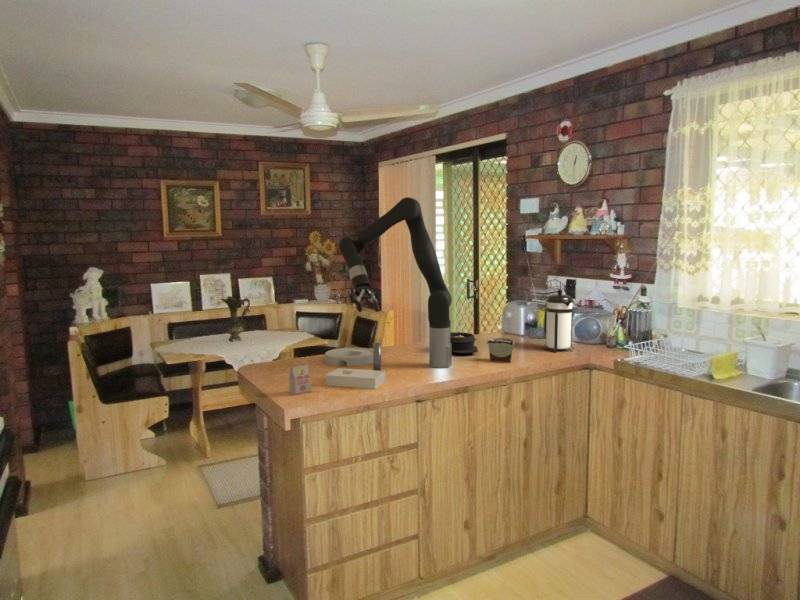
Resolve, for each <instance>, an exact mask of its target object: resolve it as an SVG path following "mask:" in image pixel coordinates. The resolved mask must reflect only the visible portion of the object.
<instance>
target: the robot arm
mask: <svg viewBox="0 0 800 600" xmlns="http://www.w3.org/2000/svg"><path fill="white" fill-rule="evenodd" d="M403 221H405V223H406V226H407V229H408V231H409V235H410V241H411V243H410V244H411V249H412V253H413V257H414V259H415V262H416V265H417V268H418V269H419V271H420V273H421V274H422V276H423V277H424V279H425V281H426V284H427V286H428V290H429V296H428V298H427V299H428V300H427V319H428V324H429V325H428V326H429V328H428V329H429V330H428V331H429V333H428V334H429V336H428V337H429V341H428V343H429V345H428V346H429V347H428V348H429V350H428V352H429V355H428V357H429V359H428V360H429V365H428V366H429V367H431V368H440V369H441V368H443V369H444V368H450V367H451V366H452V358H453V357H452V356H453V355H452V354H453V353H452V344H451V343H450V333H451V320H450V319H451V318H450V307H451V304H452V296H451V294H450V291H449V289H448V287H447V285H446V282H445V280H444V278H443V275H442V274H443V273H442V271H441V268H440V263H439V260H438V257H437V253H436V251H435V248H434V244H433V242H432V239H431V237H430V235H429V232H428V230H427V228H426V225H425V224H426V223H425V221H424V216H423V213H422V208H421V204H420V203H419V201H418V200H417V199H415V198H413V197H410V196H409V197H408V196H407V197H403V198H402V199H400V201H398V202H397V203H396V204H395V205H394V206H393V207H392V208H391V209H390V210H388V211H387V212H385V213H383V215H382V216H380V217H378V218H377V219H376V220H374V221H372V222H371V223H369V224H368V225H366V226H364V227H363V228H361V229H360V230H359V231H357V238H356V239H353V238H352V237H350V236H343V237H342V238H340V240H339V243H338V248H339V251H340V253H341V255H342V257H343V260H344V261H345V263H346V267H347V270H348V273H349V275H348V276H349V279H350V284H351V285H352V287H351V288H350V289H349V290H348V292H347V294H348V297H349V301H350V304H354V305H355V307H356V310H357V311H358V312H359V313H360V312H362V311H363V307H362V306H363V305H362V303H361V300H366V301H367V300H368V302H371V303H372V305H373V309H374V312H375V313H378V312H379V311H380V305H379V303H380V302H381V301H382V298H381V296H380V292H379V289H378V288H375V289H372V288H371V283H370V280H369V276H368V273H367V269H366V268H365V265H364V262H363V259H362V257H361V256H360V255H359V254H360V253H361V252H362V251H364V249H365V248H367V246H368V245H369V244H370V243H372V242H374V241H375V240H377V239H379V237H381V236H383V235H384V234H385V233H386V232H387V231H388V230H390V229H391V228H392V227H393V226H395V225H397V224H398V223H401V222H403Z"/></svg>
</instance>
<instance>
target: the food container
mask: <svg viewBox="0 0 800 600" xmlns="http://www.w3.org/2000/svg"><path fill="white" fill-rule="evenodd" d="M486 344H487V345H488V353H489V362H493V361H494V362H496V363H504V362H505V363H506V364H511V362H512V357H513V347H514V346H515V341H514V339H512V338H505V337H493V338H492V337H491V338H488V339H487V343H486Z"/></svg>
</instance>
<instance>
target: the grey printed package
mask: <svg viewBox="0 0 800 600" xmlns="http://www.w3.org/2000/svg"><path fill="white" fill-rule="evenodd" d="M288 386H289V387H288V390H289V394H290V395H292V396H298V395H303V394H308V393H311V392H312V389H311V386H312V385H311V374H310V369H309V365H308V364H304V365H298V366H291V367H290V372H289V375H288Z"/></svg>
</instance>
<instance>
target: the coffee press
mask: <svg viewBox="0 0 800 600" xmlns="http://www.w3.org/2000/svg"><path fill="white" fill-rule="evenodd" d="M545 302H546V307H545V309H544V323H543V324H544V327H543V328H544V334H545V344H544V345H543V347H542V348H543V349H544V348H545V349H547V348H550V349H553V353H556V352H557V353H558V350H569V351H571V352H574V351H575V348H574V347H573V313H574V312H573V311H574V310H573V309H574V307H573V303H574V300H573V298H572V297H571V296H570V295H568V294H563V290H561V289H558V290H557V294H550V295H548V296H547V298H546V299H545ZM545 349H544V350H545Z"/></svg>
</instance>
